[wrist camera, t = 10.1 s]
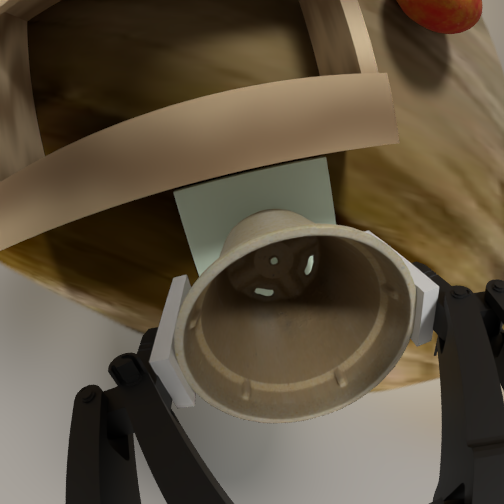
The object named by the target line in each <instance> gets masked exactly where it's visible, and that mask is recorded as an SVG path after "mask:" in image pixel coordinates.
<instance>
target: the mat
mask: <svg viewBox="0 0 504 504" xmlns="http://www.w3.org/2000/svg"><path fill="white" fill-rule="evenodd" d="M173 193H174V197H175V200H176V204H177V207H178V210H179V214H180V217H181V220H182V224H183V227H184V230H185V234H186V237H187V240H188V243H189V246H190V250H191V253H192V256H193V259H194V262H195V265H196V268H197V271H198V274H199V277H200V275H201V274H202V273H203V272H204V271H205V270H206V269H207V268H208V267H209V266H210V265H211V264H212V263H213V262H214V261H215V260H217V259H218V258H219V256H220V253H221V251H222V248H223V245H224V242H225V240H226V238H227V236H228V234H229V233H230V231H231V230H232V229H233V228H234V227H235V226H236V225H237V224H238V223H239V222H240V221H242V220H243V219H245V218H246V217H248V216H250V215H252V214H254V213H256V212H258V211H262V210H266V209H285V210H289V211H293V212H295V213H297V214H299V215H301V216H303V217H305V218H306V219H308V220H310V221H312V222H314V223H316V224H317V223H320V224H335V225H336V221H335V213H334V205H333V198H332V191H331V185H330V178H329V172H328V166H327V160H326V157H323V156H321V157H316V158H310V159H305V160H300V161H294V162H289V163H284V164H280V165H275V166H270V167H265V168H261V169H256V170H252V171H248V172H243V173H239V174H235V175H231V176H226V177H222V178H218V179H214V180H210V181H207V182H203V183H199V184H195V185H191V186H188V187H184V188H181V189H177V190H175V191H174V192H173ZM277 262H278V260H277V258H272V259H271V263H272V264H276V263H277ZM312 265H313V256H310V257H309V260H308V264H307V266H306V268H305V274H306V275H308V274H309V273H310V272H311V269H312ZM255 292H256V293H257V294H261V295H265V296H271V295H272V294H273V290H267V289H261V288H256V290H255Z"/></svg>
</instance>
